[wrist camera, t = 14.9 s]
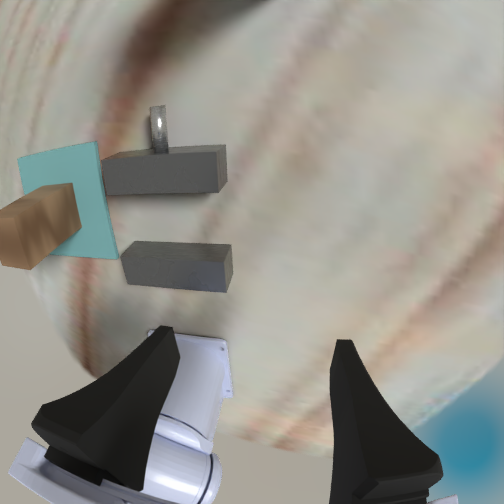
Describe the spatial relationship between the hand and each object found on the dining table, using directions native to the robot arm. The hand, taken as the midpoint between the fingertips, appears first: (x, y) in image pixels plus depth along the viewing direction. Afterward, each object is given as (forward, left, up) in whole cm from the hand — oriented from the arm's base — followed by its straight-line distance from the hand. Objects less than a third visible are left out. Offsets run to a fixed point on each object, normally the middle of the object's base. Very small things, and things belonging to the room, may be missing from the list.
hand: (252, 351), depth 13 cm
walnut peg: (+3, +18, -10) cm, 21 cm away
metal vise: (+4, +7, -10) cm, 13 cm away
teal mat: (+3, +18, -10) cm, 21 cm away
